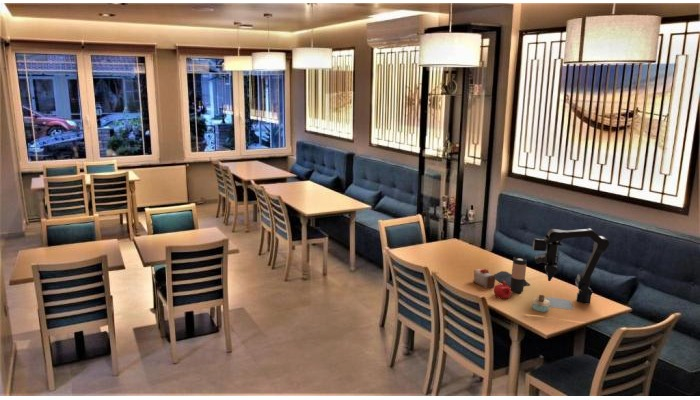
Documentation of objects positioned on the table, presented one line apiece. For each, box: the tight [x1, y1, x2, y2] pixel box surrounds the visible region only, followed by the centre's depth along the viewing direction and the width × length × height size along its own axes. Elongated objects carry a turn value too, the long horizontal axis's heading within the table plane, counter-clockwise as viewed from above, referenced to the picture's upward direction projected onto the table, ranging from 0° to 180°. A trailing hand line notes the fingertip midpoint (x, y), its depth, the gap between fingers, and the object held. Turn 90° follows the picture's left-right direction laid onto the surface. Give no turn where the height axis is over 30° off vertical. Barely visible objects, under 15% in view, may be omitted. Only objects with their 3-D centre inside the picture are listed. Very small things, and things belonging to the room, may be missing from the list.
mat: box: [545, 296, 574, 311], centre depth 286 cm, size 13×14×1 cm
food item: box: [473, 268, 496, 290], centre depth 310 cm, size 14×8×10 cm, turn 27°
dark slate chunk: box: [493, 270, 531, 289], centre depth 318 cm, size 15×22×5 cm
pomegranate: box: [493, 281, 513, 300], centre depth 293 cm, size 10×10×9 cm
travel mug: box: [510, 256, 528, 294], centre depth 301 cm, size 8×8×20 cm
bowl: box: [531, 303, 550, 313], centre depth 278 cm, size 8×8×4 cm
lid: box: [531, 294, 550, 306], centre depth 277 cm, size 9×9×4 cm
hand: (548, 278), depth 290 cm, fingers open, 9 cm apart
